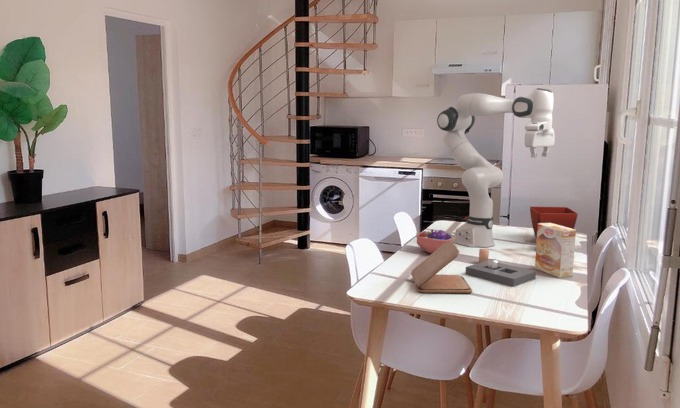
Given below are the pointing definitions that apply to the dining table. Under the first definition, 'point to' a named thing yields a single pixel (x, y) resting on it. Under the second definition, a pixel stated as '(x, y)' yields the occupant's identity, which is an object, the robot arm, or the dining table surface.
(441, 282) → the case
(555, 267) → the coffeecake box
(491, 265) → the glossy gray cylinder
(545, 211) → the plant pot
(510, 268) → the housing
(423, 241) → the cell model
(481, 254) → the tan oval egg shape
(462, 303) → the dining table surface
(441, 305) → the dining table surface
